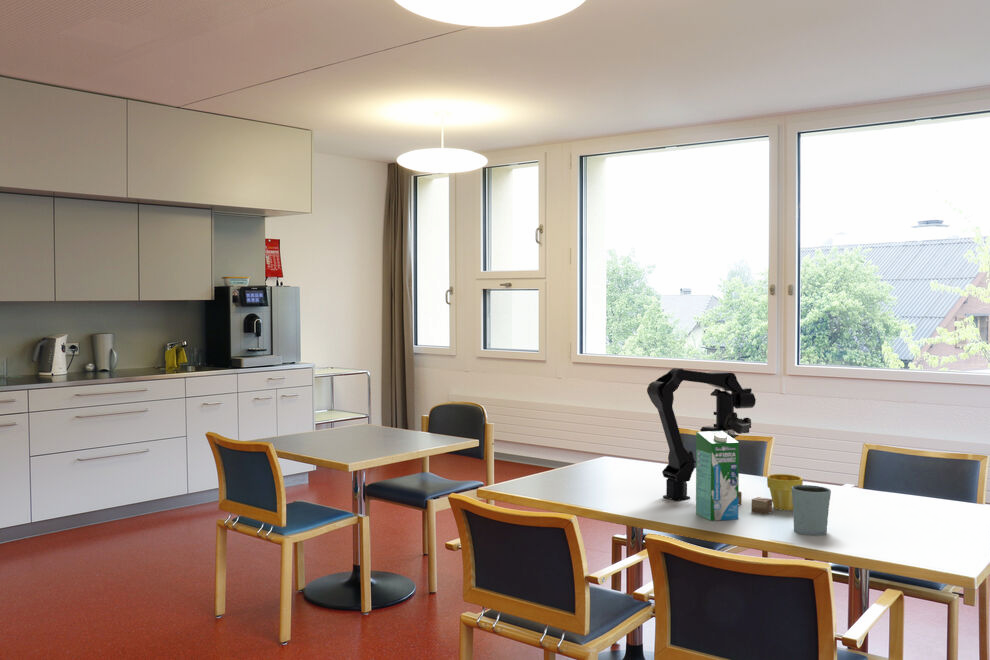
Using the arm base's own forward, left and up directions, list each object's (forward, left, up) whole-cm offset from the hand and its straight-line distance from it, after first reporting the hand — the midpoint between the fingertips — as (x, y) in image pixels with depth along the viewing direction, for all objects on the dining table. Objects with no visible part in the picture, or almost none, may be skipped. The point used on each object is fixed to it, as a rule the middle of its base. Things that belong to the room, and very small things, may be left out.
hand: (724, 455), depth 273 cm
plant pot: (-1, -24, -13) cm, 27 cm away
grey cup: (-19, -45, -13) cm, 50 cm away
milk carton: (-27, -19, -13) cm, 36 cm away
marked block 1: (-9, -10, -13) cm, 19 cm away
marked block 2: (-11, -23, -13) cm, 29 cm away
